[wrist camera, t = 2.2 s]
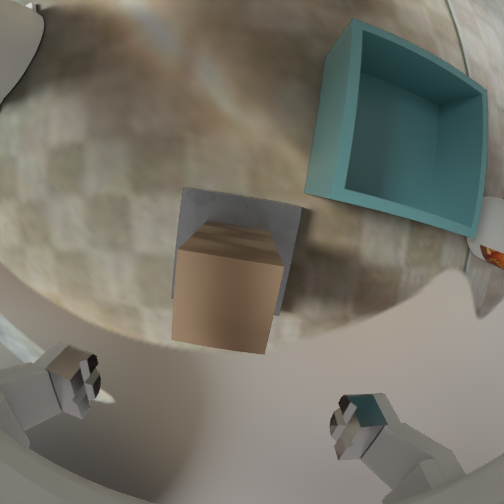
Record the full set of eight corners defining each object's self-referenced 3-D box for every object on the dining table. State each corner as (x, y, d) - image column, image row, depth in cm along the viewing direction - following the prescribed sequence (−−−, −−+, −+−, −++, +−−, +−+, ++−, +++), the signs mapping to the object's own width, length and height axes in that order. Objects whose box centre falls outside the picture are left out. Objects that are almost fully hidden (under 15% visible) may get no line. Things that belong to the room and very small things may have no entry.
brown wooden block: (199, 278, 24) (171, 339, 14) (207, 220, 23) (177, 249, 13) (258, 288, 24) (264, 354, 15) (269, 230, 23) (284, 266, 13)
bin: (303, 193, 24) (329, 198, 16) (324, 58, 21) (352, 18, 13) (424, 223, 25) (475, 239, 17) (439, 104, 21) (486, 90, 14)
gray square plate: (175, 292, 26) (158, 319, 20) (187, 187, 24) (169, 189, 18) (277, 308, 27) (284, 339, 21) (299, 205, 24) (314, 213, 19)
